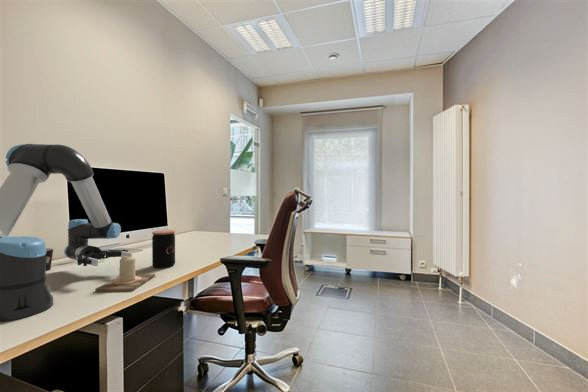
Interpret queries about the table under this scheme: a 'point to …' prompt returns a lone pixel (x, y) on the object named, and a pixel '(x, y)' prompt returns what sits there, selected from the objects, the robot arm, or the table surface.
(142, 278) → the candle board
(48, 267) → the coffee mug
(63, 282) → the table surface
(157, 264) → the coffee jar
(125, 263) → the candle
